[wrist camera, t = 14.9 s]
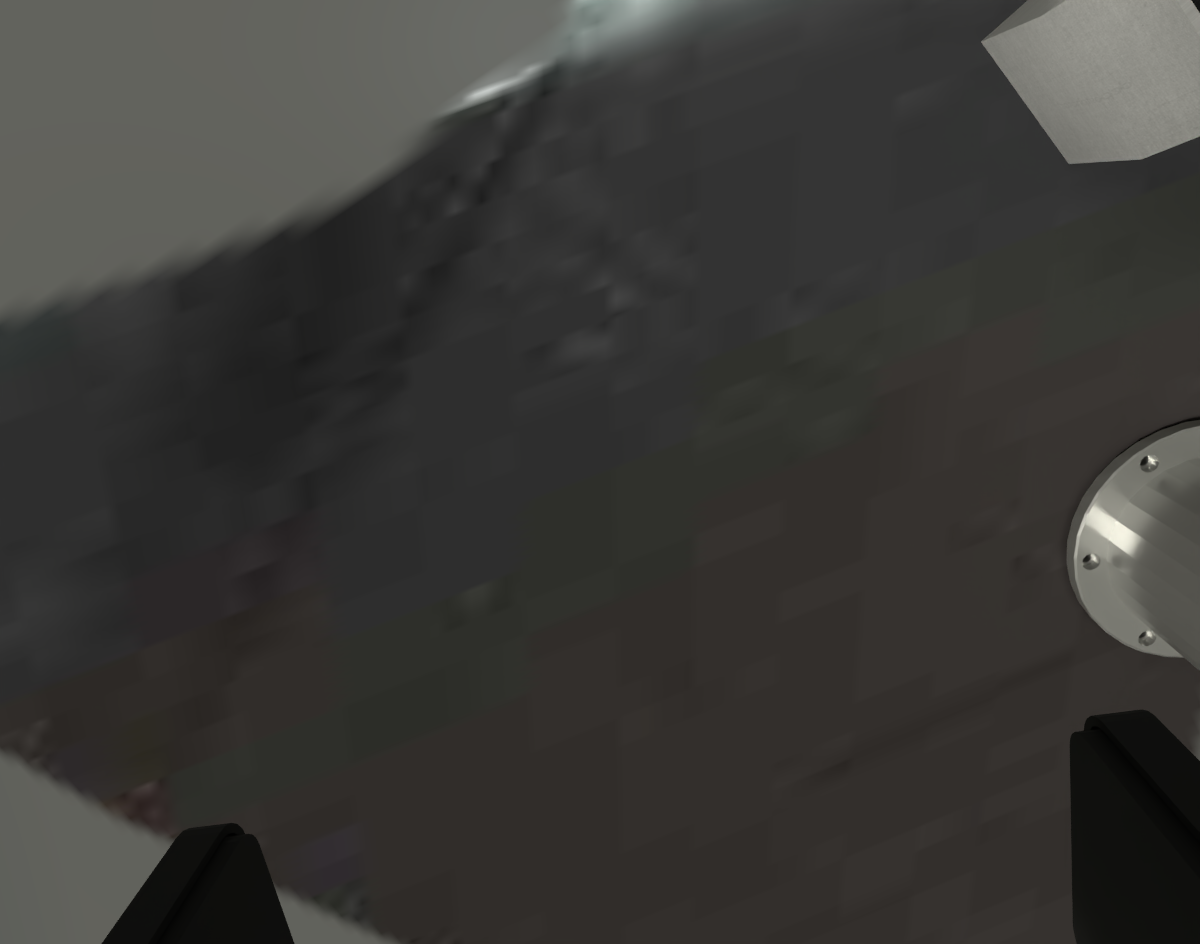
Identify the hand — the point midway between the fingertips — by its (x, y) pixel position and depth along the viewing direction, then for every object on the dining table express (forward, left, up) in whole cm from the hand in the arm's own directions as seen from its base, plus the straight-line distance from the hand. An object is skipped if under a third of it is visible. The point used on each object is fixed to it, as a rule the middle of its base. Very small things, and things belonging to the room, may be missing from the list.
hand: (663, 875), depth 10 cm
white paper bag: (-20, -9, -35) cm, 41 cm away
